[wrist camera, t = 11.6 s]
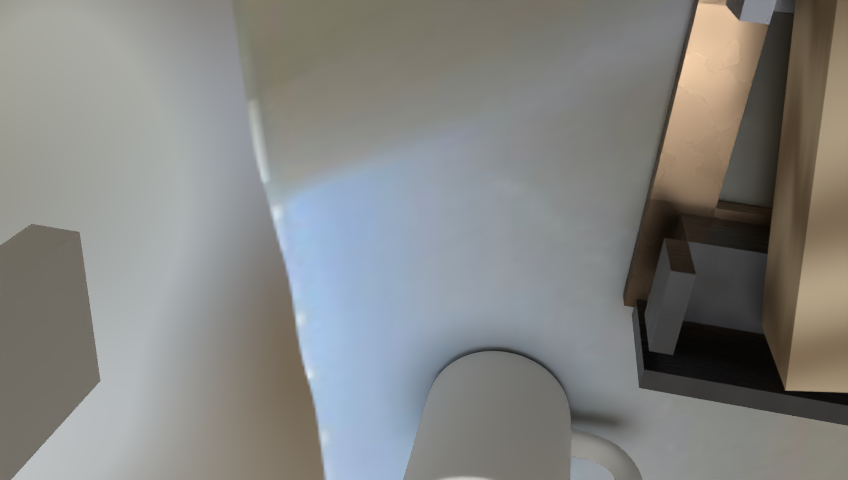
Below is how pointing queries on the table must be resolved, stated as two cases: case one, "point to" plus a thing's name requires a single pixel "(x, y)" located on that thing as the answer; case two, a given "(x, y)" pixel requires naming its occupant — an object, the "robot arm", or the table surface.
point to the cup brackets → (710, 234)
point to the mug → (503, 426)
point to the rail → (811, 208)
